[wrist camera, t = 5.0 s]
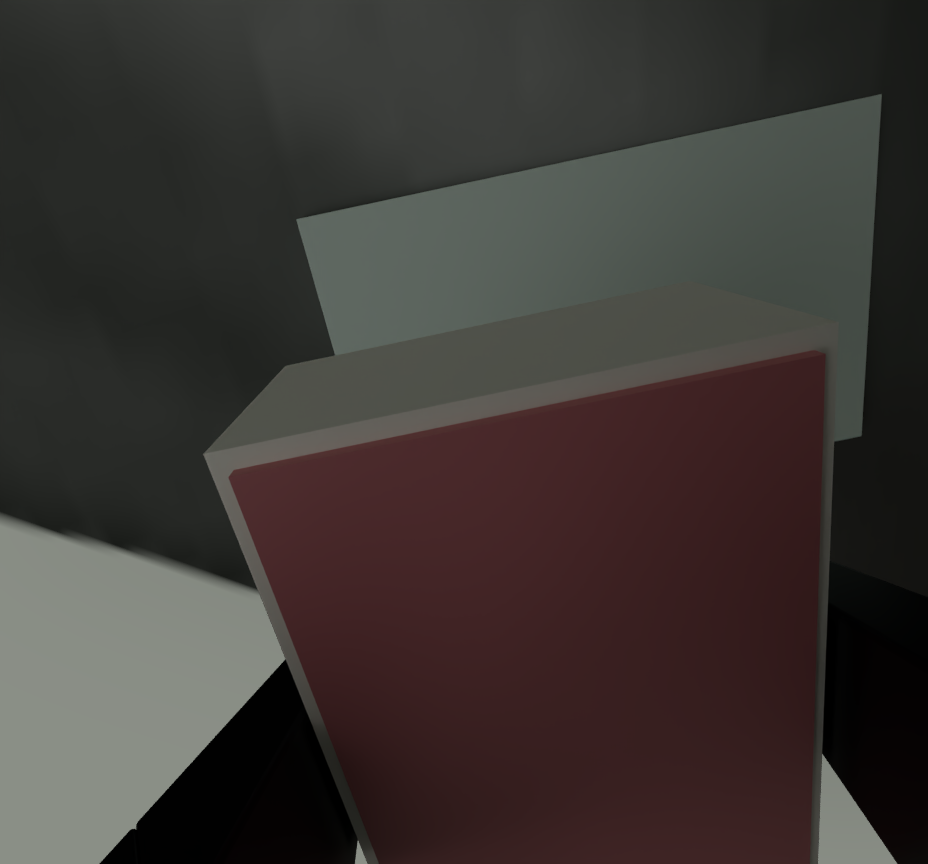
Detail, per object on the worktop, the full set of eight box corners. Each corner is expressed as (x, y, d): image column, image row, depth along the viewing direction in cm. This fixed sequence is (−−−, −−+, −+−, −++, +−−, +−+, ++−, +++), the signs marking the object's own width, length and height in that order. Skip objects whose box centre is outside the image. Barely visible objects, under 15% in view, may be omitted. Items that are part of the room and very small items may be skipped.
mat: (868, 97, 16) (881, 94, 15) (851, 430, 19) (861, 435, 19) (300, 219, 16) (296, 219, 16) (386, 524, 20) (385, 531, 19)
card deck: (714, 722, 11) (823, 920, 8) (419, 778, 11) (414, 995, 8) (690, 280, 8) (850, 325, 5) (285, 366, 8) (197, 460, 5)
